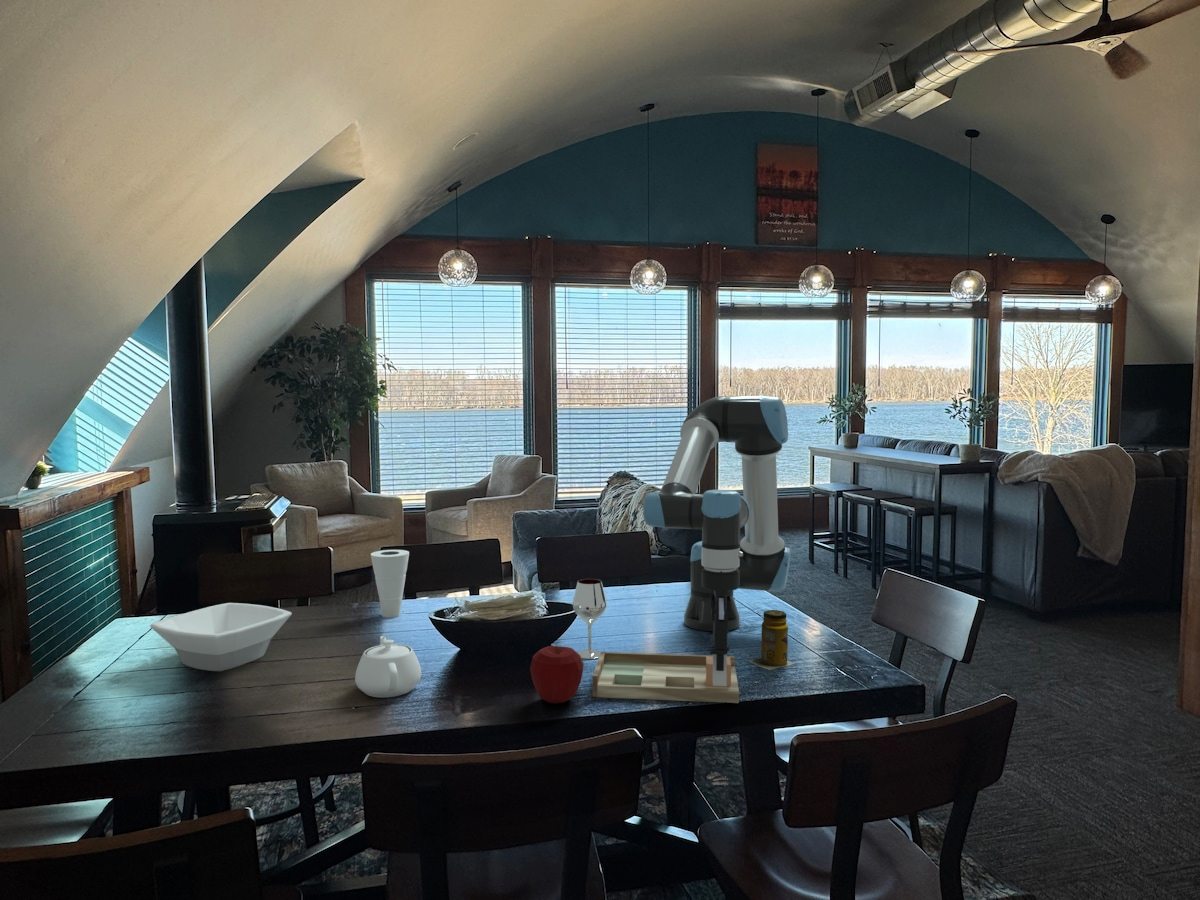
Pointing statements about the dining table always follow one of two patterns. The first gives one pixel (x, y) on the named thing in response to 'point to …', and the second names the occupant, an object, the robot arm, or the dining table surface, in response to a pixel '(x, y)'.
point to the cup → (390, 579)
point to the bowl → (222, 634)
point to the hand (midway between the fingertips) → (719, 684)
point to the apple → (556, 673)
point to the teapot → (388, 670)
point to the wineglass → (589, 608)
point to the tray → (659, 678)
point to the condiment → (773, 641)
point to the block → (710, 671)
